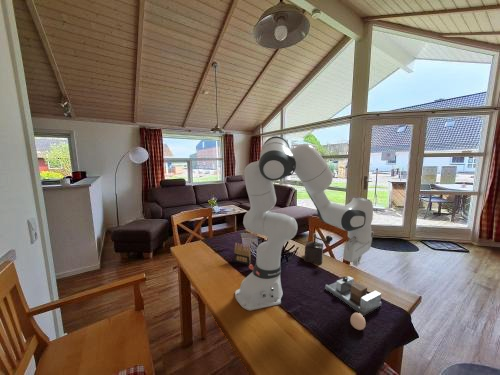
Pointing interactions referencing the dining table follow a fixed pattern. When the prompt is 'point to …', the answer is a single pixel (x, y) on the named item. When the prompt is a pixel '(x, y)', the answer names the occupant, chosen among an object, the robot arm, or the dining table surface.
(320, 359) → the dining table surface
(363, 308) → the vise
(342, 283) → the free jaw
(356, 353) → the dining table surface
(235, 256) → the ammunition clip
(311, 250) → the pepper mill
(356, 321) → the egg
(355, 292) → the block
